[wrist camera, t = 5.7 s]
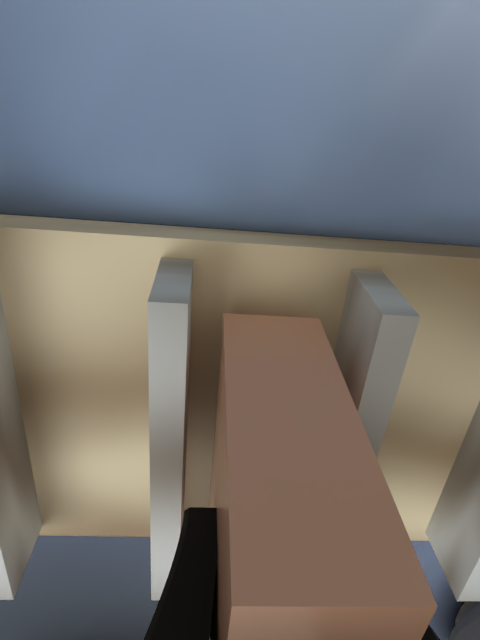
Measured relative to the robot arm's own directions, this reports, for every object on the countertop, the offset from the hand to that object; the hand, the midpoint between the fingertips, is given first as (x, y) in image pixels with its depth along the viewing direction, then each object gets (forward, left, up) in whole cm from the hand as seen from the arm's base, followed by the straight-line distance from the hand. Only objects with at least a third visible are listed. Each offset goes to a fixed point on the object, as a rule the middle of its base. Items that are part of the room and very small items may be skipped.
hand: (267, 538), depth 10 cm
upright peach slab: (0, 0, -3) cm, 3 cm away
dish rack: (0, 0, -5) cm, 5 cm away
